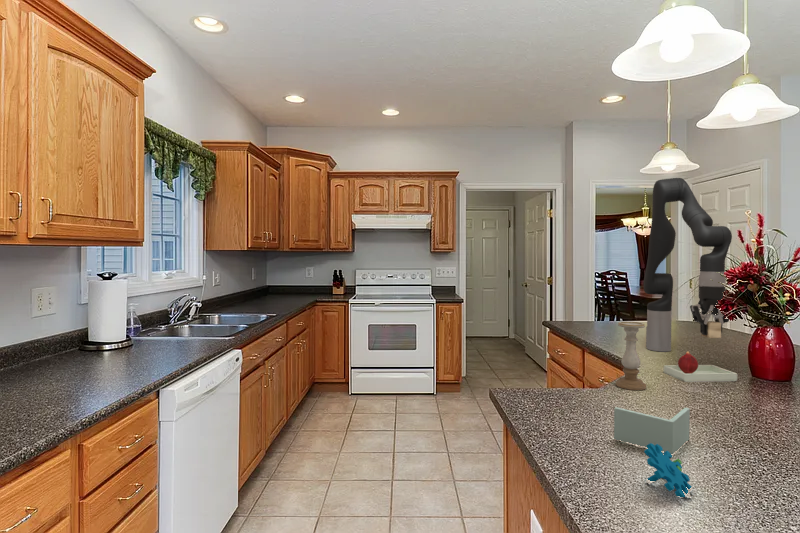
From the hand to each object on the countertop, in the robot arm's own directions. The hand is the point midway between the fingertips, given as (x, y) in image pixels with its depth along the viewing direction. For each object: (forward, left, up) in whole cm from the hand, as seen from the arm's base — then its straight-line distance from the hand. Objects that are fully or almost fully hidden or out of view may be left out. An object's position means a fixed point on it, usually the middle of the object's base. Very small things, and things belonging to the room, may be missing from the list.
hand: (711, 334), depth 156 cm
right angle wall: (+51, -50, -15) cm, 73 cm away
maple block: (0, 0, -1) cm, 1 cm away
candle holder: (+10, -33, -15) cm, 37 cm away
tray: (0, -4, -14) cm, 15 cm away
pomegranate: (0, -8, -14) cm, 16 cm away
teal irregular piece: (+72, -59, -15) cm, 94 cm away
